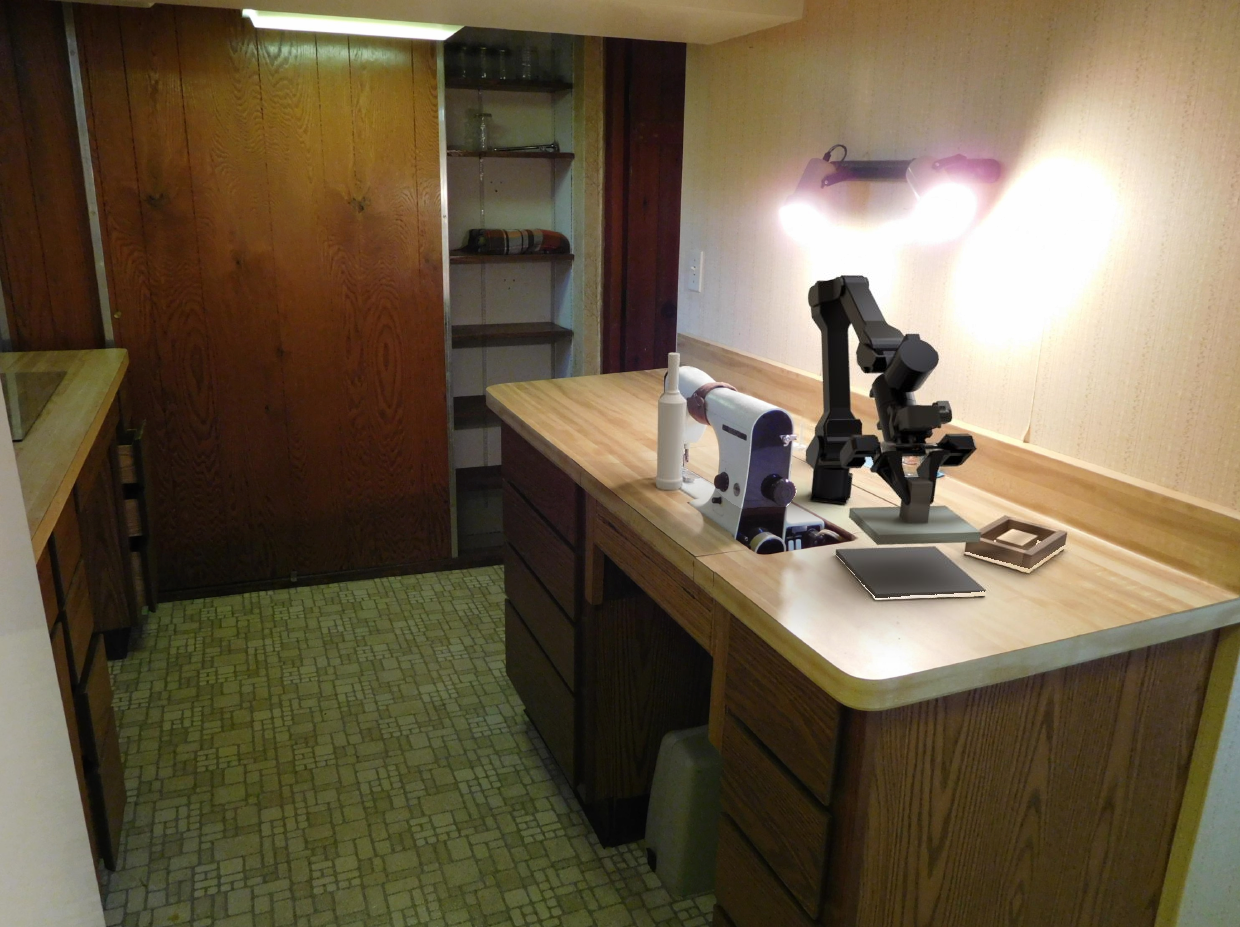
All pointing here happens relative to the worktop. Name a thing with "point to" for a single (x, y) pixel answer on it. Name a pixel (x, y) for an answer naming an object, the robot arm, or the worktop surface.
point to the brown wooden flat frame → (1017, 541)
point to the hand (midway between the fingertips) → (919, 503)
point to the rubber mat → (907, 571)
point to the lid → (914, 520)
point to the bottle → (671, 430)
